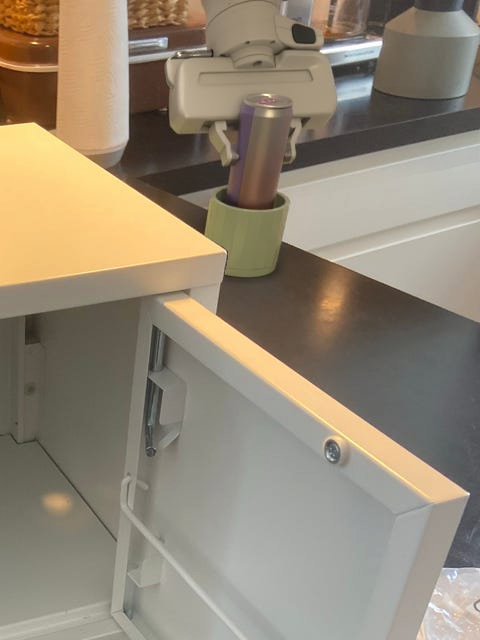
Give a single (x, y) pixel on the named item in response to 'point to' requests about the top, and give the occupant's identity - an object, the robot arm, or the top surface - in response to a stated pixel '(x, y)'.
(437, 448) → the top surface
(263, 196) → the beverage can
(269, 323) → the top surface
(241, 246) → the tumbler
